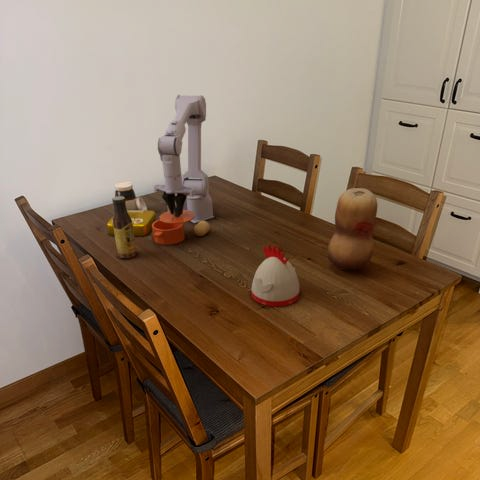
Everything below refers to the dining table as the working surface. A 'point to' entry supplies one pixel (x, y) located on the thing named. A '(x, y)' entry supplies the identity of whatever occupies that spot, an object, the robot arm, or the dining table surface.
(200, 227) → the potato
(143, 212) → the yellow square tin
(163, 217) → the pot lid
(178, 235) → the pot
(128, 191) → the spread jar
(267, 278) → the kitchen timer
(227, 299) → the dining table surface
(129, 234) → the sauce bottle
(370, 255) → the butternut squash
